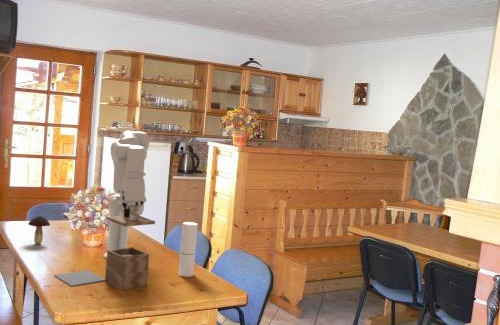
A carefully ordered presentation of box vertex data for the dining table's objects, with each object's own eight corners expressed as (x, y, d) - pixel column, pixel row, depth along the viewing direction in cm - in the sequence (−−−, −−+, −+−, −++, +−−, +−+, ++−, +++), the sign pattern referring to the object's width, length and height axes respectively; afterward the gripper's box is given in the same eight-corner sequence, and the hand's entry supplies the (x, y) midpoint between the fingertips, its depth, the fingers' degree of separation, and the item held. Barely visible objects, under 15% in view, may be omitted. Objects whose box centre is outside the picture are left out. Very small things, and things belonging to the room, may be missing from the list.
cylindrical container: (195, 273, 250) (200, 223, 248) (189, 277, 243) (193, 225, 241) (182, 271, 252) (186, 221, 251) (175, 274, 246) (180, 223, 244)
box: (130, 277, 236) (132, 247, 234) (146, 285, 226) (149, 254, 225) (105, 281, 226) (107, 250, 225) (120, 290, 217) (123, 257, 216)
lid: (136, 217, 235) (137, 201, 234) (154, 223, 225) (156, 207, 224) (106, 219, 224) (107, 203, 224) (125, 226, 214) (126, 209, 213)
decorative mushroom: (46, 241, 284) (48, 214, 283) (50, 246, 274) (52, 218, 273) (25, 241, 278) (27, 214, 277) (28, 246, 269) (30, 218, 268)
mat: (87, 271, 238) (87, 270, 238) (105, 280, 227) (105, 279, 227) (54, 276, 227) (54, 275, 227) (71, 286, 215) (71, 285, 215)
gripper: (145, 174, 231) (142, 214, 233) (112, 174, 219) (109, 216, 221) (155, 176, 226) (152, 217, 228) (122, 176, 214) (118, 219, 216)
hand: (131, 216), depth 224 cm, fingers closed on lid, 4 cm apart
